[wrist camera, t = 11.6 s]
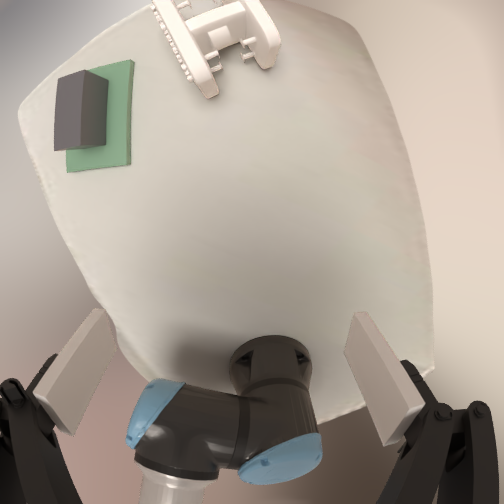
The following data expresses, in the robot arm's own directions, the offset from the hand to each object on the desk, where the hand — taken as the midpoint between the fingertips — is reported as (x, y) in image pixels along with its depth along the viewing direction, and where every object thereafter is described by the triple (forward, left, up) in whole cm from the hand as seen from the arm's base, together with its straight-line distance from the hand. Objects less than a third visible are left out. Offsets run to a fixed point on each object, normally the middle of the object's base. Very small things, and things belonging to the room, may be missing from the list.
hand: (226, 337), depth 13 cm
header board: (+16, +21, -27) cm, 38 cm away
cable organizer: (+25, +3, -27) cm, 37 cm away
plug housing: (+16, +21, -25) cm, 37 cm away
